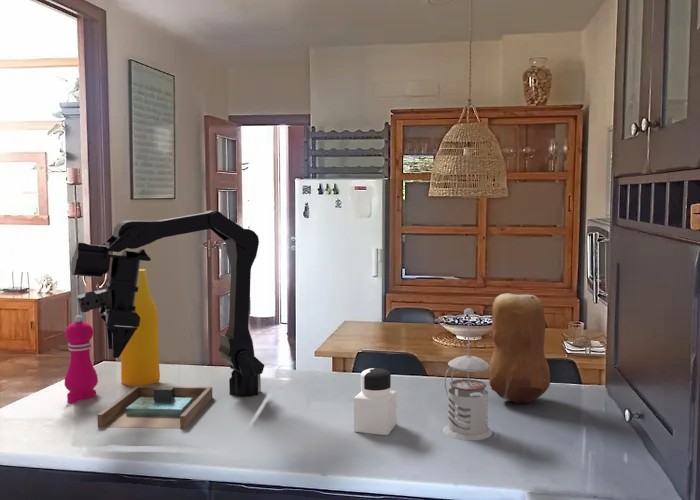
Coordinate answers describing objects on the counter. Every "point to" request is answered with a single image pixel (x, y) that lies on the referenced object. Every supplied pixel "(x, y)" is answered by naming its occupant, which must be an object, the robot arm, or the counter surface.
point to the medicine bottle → (375, 403)
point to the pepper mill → (80, 362)
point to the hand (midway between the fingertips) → (113, 353)
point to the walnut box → (118, 417)
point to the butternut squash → (518, 348)
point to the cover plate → (159, 404)
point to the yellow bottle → (142, 341)
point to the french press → (467, 399)
